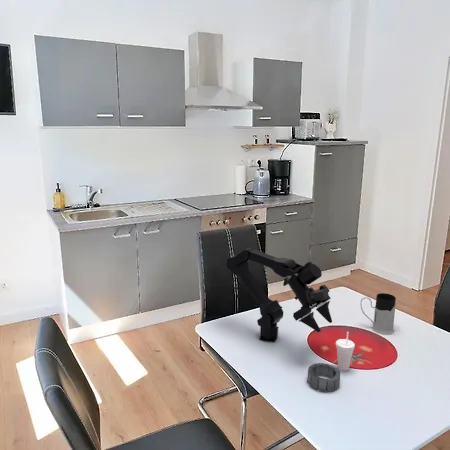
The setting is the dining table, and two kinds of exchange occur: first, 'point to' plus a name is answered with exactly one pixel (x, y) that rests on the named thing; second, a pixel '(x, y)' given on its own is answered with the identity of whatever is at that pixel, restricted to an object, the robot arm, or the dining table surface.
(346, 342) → the smoothie
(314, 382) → the stone ring
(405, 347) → the dining table surface
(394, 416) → the dining table surface
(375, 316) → the grey mug
